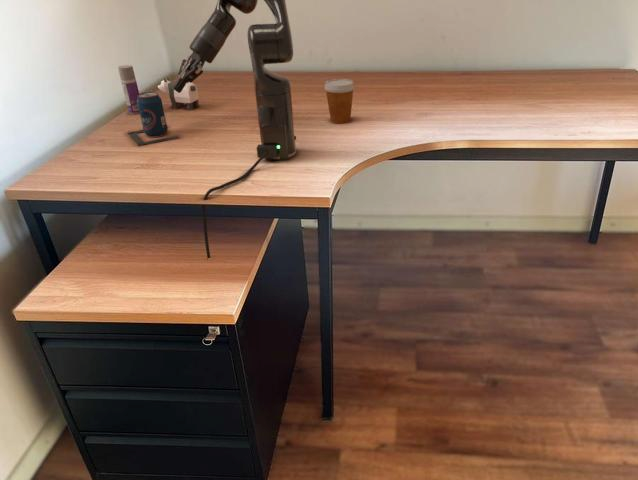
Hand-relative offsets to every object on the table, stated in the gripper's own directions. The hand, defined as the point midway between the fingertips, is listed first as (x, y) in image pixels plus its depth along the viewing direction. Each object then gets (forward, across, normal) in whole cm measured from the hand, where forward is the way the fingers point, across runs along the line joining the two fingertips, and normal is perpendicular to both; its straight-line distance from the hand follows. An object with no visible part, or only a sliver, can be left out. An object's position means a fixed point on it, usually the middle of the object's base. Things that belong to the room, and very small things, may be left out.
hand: (176, 90), depth 164 cm
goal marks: (+14, 0, +2) cm, 15 cm away
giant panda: (+3, -25, +14) cm, 29 cm away
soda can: (+14, -1, +3) cm, 15 cm away
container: (+14, -28, +3) cm, 32 cm away
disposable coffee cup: (-23, +20, +40) cm, 51 cm away
